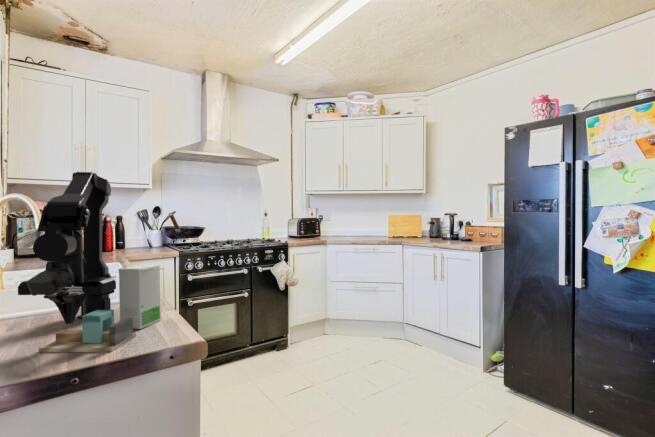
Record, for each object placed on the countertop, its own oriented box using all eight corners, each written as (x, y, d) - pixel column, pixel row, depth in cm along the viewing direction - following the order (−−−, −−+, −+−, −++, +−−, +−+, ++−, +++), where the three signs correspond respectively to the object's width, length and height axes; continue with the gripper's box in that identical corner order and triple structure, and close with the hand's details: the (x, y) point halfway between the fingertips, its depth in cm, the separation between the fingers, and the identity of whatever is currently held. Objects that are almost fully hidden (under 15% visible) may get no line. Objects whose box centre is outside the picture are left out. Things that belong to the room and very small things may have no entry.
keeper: (82, 342, 76) (82, 316, 75) (97, 335, 80) (97, 309, 80) (100, 342, 75) (99, 316, 75) (114, 335, 80) (113, 309, 80)
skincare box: (139, 330, 87) (138, 269, 86) (117, 328, 88) (116, 268, 88) (162, 319, 95) (161, 264, 94) (141, 318, 96) (140, 263, 96)
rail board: (38, 351, 74) (38, 328, 73) (70, 336, 83) (70, 316, 82) (111, 351, 73) (111, 328, 73) (136, 336, 82) (135, 315, 82)
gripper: (-9, 261, 70) (-6, 336, 70) (82, 260, 69) (84, 336, 70) (38, 254, 81) (40, 319, 81) (116, 253, 81) (118, 318, 81)
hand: (69, 323), depth 78 cm, fingers closed
